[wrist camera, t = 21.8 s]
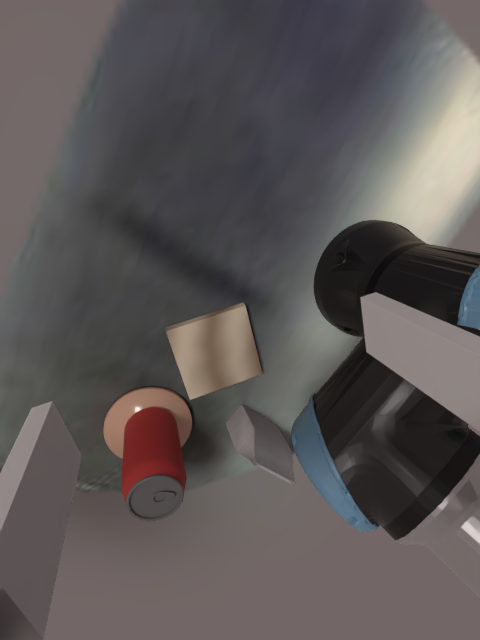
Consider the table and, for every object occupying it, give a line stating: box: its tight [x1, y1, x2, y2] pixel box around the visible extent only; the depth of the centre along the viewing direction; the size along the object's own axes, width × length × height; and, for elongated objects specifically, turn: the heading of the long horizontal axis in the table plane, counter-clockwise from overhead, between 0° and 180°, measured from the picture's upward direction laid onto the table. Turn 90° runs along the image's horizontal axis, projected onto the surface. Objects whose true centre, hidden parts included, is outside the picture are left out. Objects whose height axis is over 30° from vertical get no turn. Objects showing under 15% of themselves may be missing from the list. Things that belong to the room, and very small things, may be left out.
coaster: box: [104, 386, 192, 459], centre depth 47 cm, size 11×11×1 cm
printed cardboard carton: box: [226, 404, 295, 485], centre depth 47 cm, size 4×7×10 cm, turn 50°
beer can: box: [121, 407, 186, 521], centre depth 41 cm, size 7×7×12 cm
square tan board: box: [165, 303, 262, 400], centre depth 46 cm, size 10×10×1 cm
